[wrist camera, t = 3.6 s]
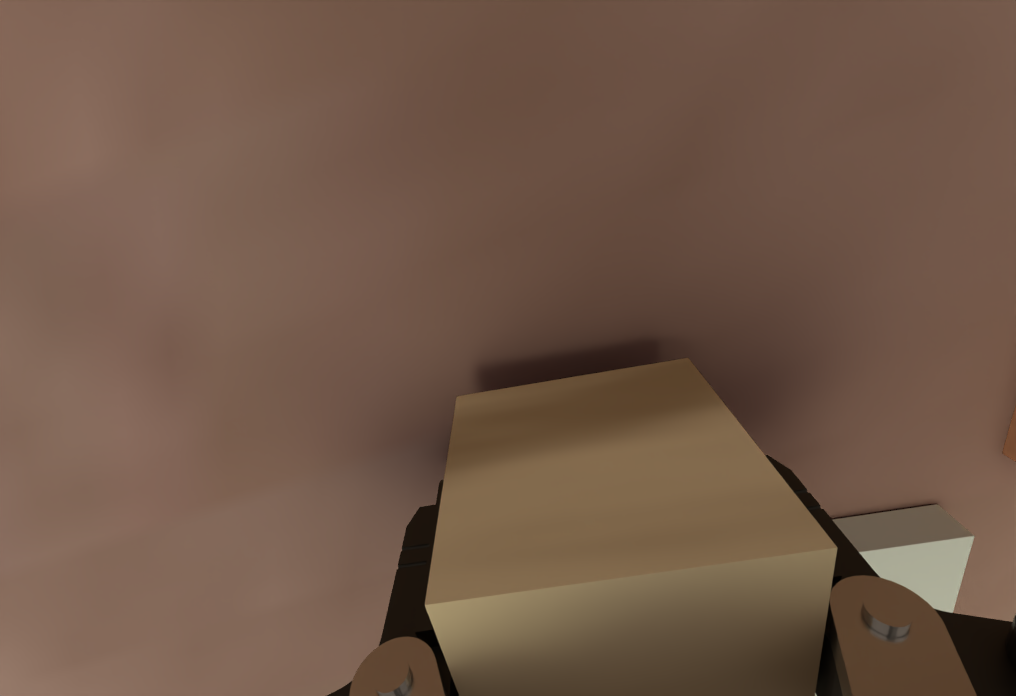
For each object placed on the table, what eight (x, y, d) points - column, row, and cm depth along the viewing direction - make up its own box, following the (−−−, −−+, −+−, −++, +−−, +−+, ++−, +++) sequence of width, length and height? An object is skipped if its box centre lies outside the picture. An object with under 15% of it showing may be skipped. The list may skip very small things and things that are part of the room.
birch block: (456, 396, 11) (425, 605, 6) (688, 357, 10) (837, 547, 6) (499, 558, 13) (499, 801, 8) (692, 530, 12) (804, 768, 8)
